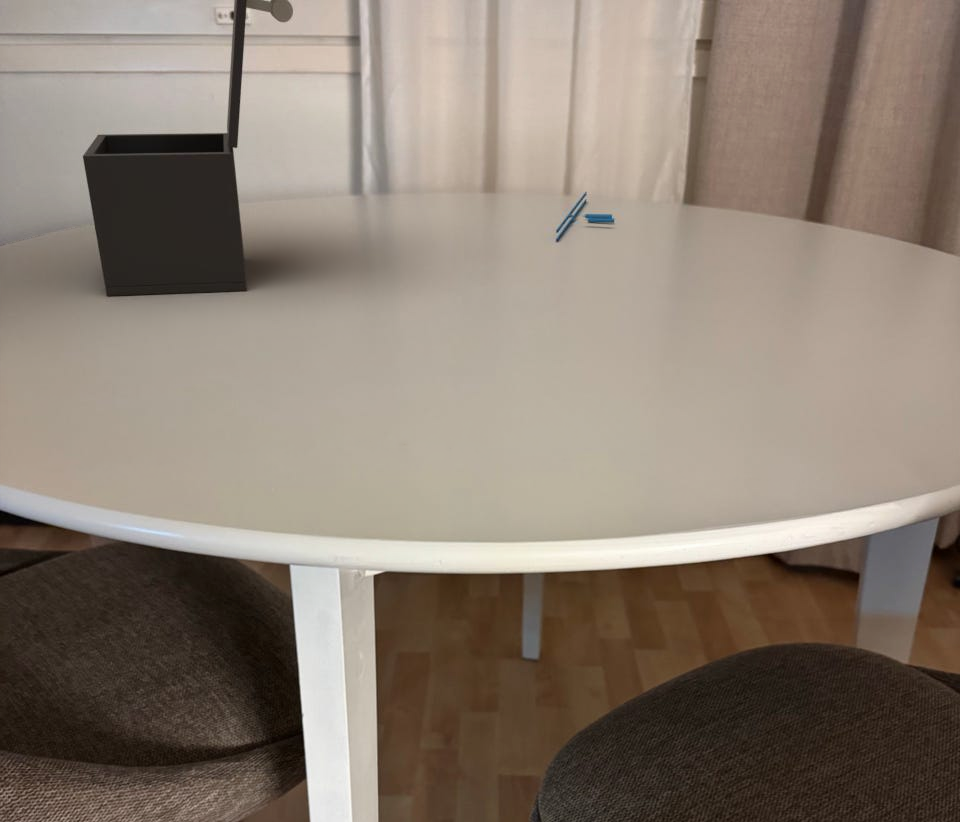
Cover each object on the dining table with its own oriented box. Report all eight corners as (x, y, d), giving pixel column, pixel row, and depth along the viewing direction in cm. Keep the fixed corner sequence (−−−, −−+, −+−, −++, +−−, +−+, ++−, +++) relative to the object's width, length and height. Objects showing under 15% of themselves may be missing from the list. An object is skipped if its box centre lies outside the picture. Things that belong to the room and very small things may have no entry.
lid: (238, -34, 86) (298, -21, 87) (236, -34, 97) (289, -23, 98) (227, 146, 92) (283, 156, 94) (226, 127, 104) (276, 135, 105)
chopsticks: (625, 191, 138) (585, 191, 139) (602, 229, 117) (556, 228, 118) (624, 203, 139) (585, 202, 140) (602, 243, 118) (556, 242, 119)
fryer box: (106, 296, 97) (82, 155, 91) (118, 261, 108) (97, 134, 102) (247, 290, 99) (233, 153, 93) (244, 257, 110) (231, 133, 104)
